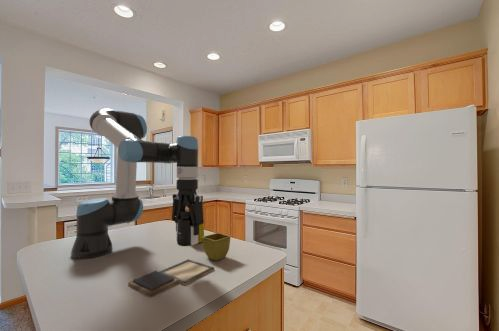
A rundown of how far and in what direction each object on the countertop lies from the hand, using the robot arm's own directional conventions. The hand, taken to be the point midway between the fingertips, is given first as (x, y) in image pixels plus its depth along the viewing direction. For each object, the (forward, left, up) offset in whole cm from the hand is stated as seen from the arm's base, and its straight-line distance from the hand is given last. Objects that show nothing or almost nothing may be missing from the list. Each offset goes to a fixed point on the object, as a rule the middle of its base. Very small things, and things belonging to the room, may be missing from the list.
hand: (187, 242), depth 84 cm
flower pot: (0, +16, -11) cm, 19 cm away
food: (-24, +26, -11) cm, 37 cm away
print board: (0, 0, -11) cm, 11 cm away
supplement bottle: (0, 0, -1) cm, 1 cm away
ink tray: (-2, -12, -11) cm, 16 cm away
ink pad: (-2, -12, -11) cm, 16 cm away
